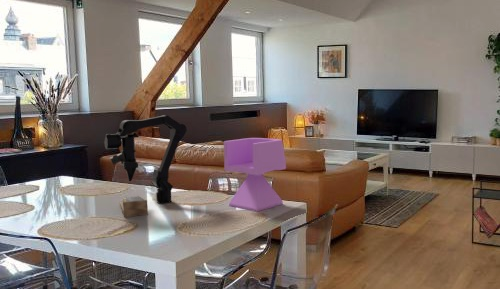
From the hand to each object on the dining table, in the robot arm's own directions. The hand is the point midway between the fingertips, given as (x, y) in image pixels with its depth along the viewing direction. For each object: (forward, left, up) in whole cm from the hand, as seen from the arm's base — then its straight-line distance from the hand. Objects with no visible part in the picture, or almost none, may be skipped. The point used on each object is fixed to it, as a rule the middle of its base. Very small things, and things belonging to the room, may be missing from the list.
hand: (130, 181), depth 230 cm
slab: (-1, +11, -8) cm, 14 cm away
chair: (-54, +22, -12) cm, 60 cm away
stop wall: (0, +18, -12) cm, 22 cm away
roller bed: (0, +7, -12) cm, 14 cm away
